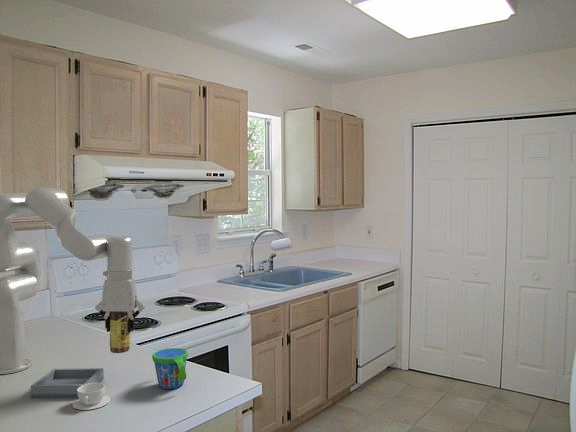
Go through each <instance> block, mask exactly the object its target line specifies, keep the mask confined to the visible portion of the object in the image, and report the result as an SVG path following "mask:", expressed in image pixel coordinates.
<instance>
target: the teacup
mask: <svg viewBox="0 0 576 432" xmlns="http://www.w3.org/2000/svg"><path fill="white" fill-rule="evenodd" d="M105 392H106V385H105V384H104V383H103V382H100V383H88V384H85V385H82V386H80V387H79V388H78V389H77V393H78V397H77V398H78V399H77V400H74V402H73V403H72V408H73V409H76V410H81V411H82V410H83V411H86V410H88V411H89V410H95V409H99V408H101V407H103V406H106V405H107V404H109V403H110V401H111V397H110V396H108V395H105Z"/></svg>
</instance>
